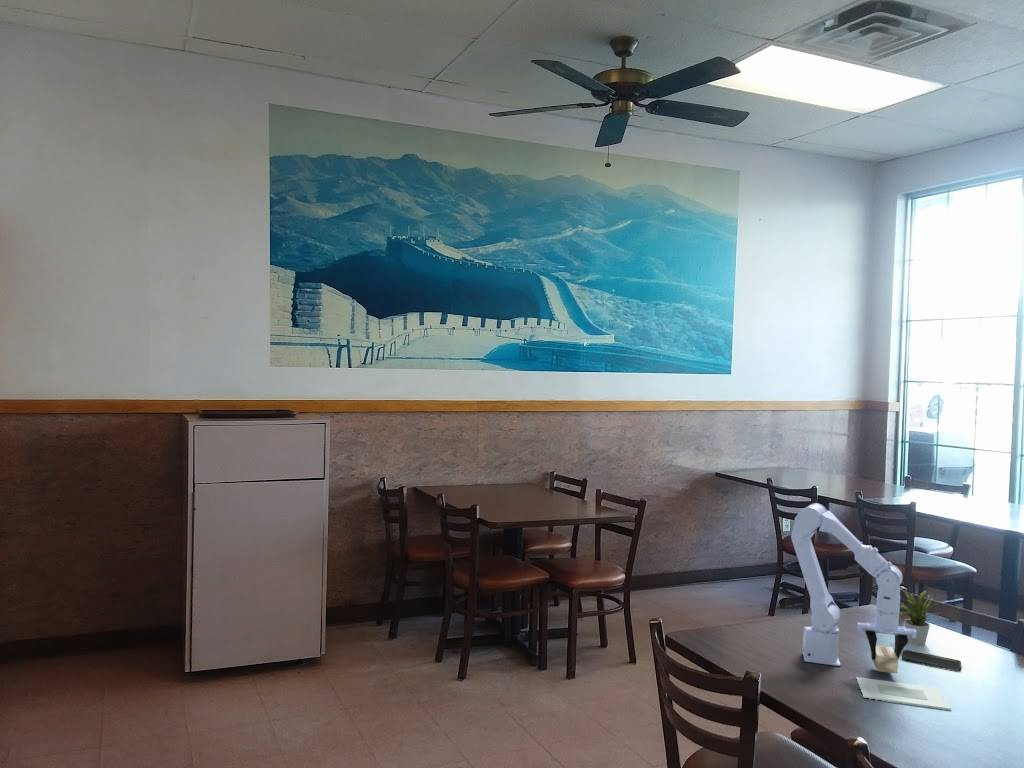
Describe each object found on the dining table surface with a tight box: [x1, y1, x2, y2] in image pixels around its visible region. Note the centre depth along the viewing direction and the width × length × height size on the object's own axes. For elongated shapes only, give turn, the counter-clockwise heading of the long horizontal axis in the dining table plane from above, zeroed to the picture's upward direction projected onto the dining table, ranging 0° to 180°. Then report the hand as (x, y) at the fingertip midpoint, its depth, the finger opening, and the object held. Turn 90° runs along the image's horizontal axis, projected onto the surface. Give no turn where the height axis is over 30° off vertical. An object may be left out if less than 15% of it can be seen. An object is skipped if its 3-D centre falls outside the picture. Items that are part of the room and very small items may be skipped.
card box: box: [871, 644, 899, 674], centre depth 220 cm, size 5×9×4 cm, turn 165°
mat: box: [855, 676, 952, 712], centre depth 208 cm, size 20×13×1 cm, turn 75°
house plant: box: [899, 588, 940, 647], centre depth 247 cm, size 14×14×16 cm
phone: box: [901, 649, 962, 672], centre depth 231 cm, size 8×1×15 cm
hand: (884, 659), depth 220 cm, fingers closed on card box, 5 cm apart
